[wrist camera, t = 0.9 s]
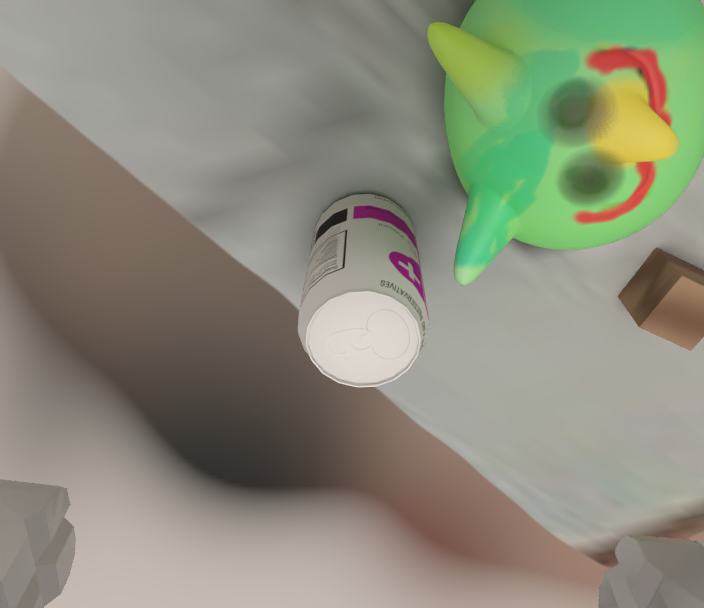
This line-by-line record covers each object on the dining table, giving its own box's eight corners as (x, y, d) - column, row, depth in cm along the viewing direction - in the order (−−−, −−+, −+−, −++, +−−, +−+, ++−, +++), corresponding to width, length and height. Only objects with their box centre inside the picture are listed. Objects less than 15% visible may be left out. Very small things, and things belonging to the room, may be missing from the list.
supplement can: (403, 179, 49) (415, 268, 36) (423, 272, 53) (441, 382, 40) (302, 203, 50) (278, 297, 37) (329, 292, 54) (316, 405, 41)
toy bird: (660, 180, 49) (763, 268, 36) (440, 224, 51) (463, 321, 38) (663, -90, 40) (801, -102, 27) (397, -23, 42) (409, -4, 29)
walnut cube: (655, 246, 51) (681, 275, 47) (705, 271, 52) (735, 301, 48) (617, 295, 54) (639, 327, 49) (665, 317, 55) (690, 350, 50)
